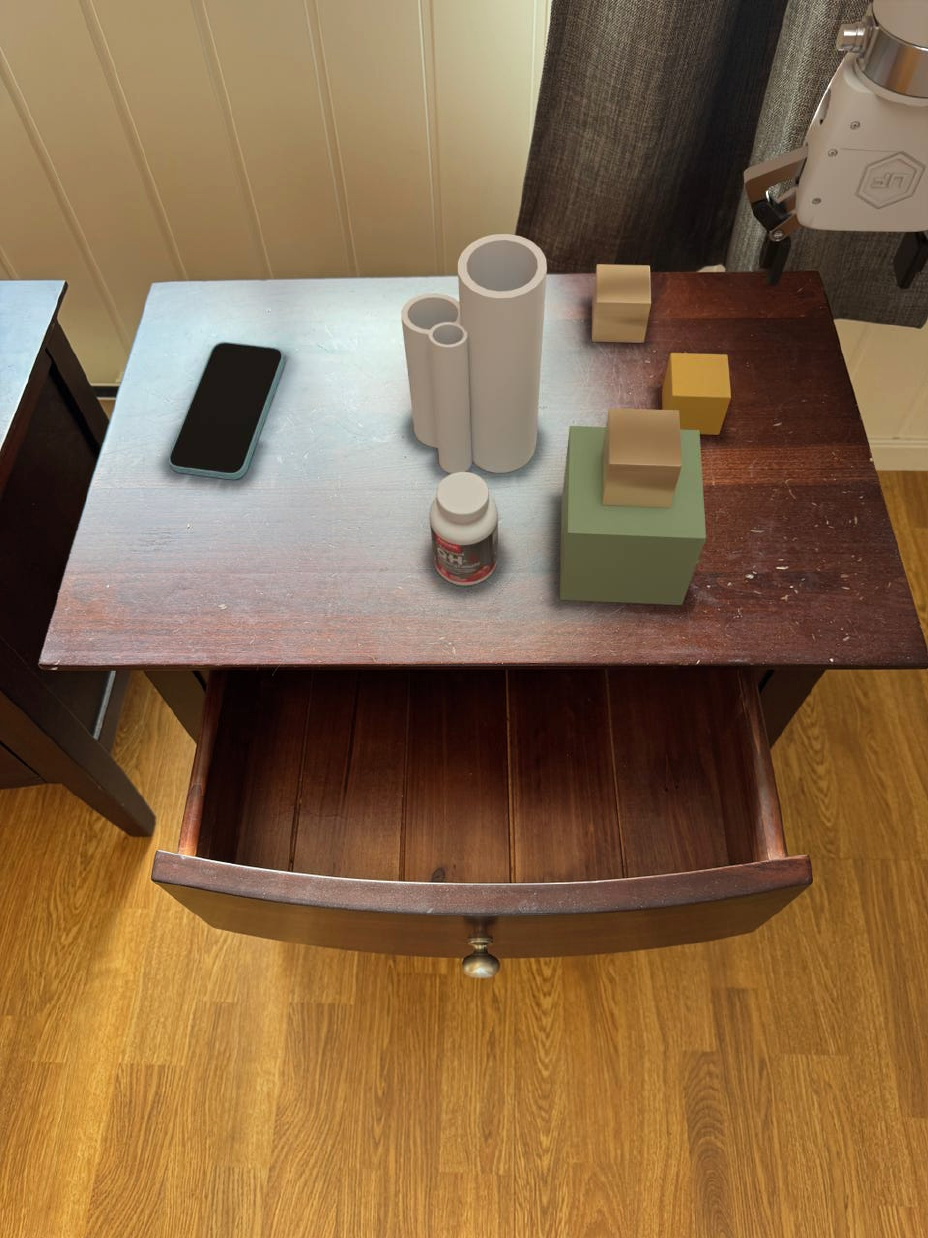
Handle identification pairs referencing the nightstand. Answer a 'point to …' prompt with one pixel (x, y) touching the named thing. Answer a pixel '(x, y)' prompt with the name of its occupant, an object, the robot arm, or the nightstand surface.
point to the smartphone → (227, 411)
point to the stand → (628, 530)
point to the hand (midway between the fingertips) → (834, 274)
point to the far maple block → (621, 303)
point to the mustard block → (697, 390)
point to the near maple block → (641, 457)
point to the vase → (480, 357)
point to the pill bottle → (464, 529)
